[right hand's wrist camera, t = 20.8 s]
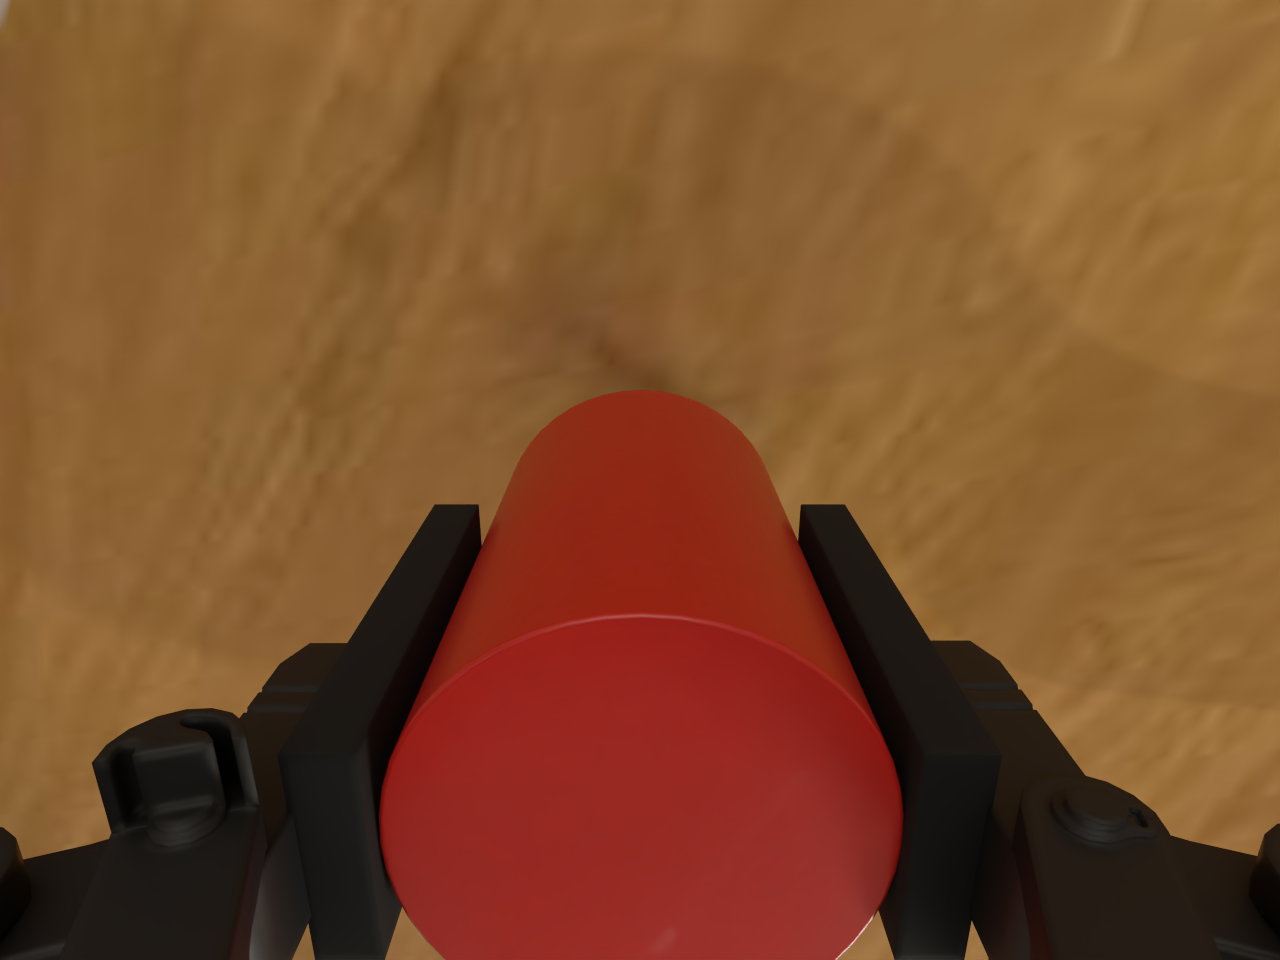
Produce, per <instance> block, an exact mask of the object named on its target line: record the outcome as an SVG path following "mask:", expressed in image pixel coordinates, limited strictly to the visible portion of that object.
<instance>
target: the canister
mask: <svg viewBox="0 0 1280 960" xmlns="http://www.w3.org/2000/svg"><path fill="white" fill-rule="evenodd" d="M903 821H904V811H903V802H902V792H901V786H900V782H899V779H898V775H897V771H896V768H895V764H894V761H893V758H892V756H891V754H890V751H889V749H888V747H887V745H886V742H885V740H884V738H883V735H882V733H881V731H880V728H879V726H878V724H877V722H876V719H875V717H874V715H873V712H872V710H871V708H870V706H869V703H868V701H867V699H866V696H865V694H864V692H863V690H862V687H861V685H860V683H859V680H858V678H857V676H856V674H855V671H854V669H853V667H852V664H851V662H850V660H849V658H848V655H847V653H846V651H845V648H844V646H843V644H842V642H841V639H840V637H839V635H838V632H837V630H836V628H835V626H834V623H833V621H832V619H831V616H830V614H829V612H828V609H827V607H826V605H825V603H824V600H823V598H822V596H821V593H820V591H819V589H818V587H817V584H816V582H815V580H814V577H813V575H812V573H811V571H810V568H809V566H808V564H807V561H806V559H805V557H804V555H803V552H802V550H801V548H800V545H799V543H798V541H797V539H796V536H795V534H794V532H793V529H792V527H791V525H790V523H789V520H788V518H787V516H786V513H785V511H784V509H783V507H782V504H781V502H780V500H779V497H778V495H777V493H776V490H775V488H774V486H773V484H772V481H771V479H770V477H769V474H768V472H767V470H766V468H765V466H764V464H763V461H762V459H761V457H760V456H759V454H758V453H757V451H756V450H755V448H754V447H753V445H752V444H751V442H750V441H749V440H748V439H747V438H746V437H745V436H744V434H743V433H742V432H741V431H740V430H739V429H738V428H737V427H736V426H734V425H733V424H732V423H731V422H730V421H729V420H728V419H726V418H725V417H723V416H722V415H720V414H719V413H717V412H716V411H714V410H713V409H711V408H709V407H707V406H705V405H703V404H701V403H699V402H697V401H694V400H691V399H688V398H685V397H682V396H679V395H675V394H670V393H665V392H660V391H646V390H636V391H622V392H617V393H611V394H606V395H602V396H599V397H596V398H593V399H590V400H587V401H585V402H583V403H581V404H579V405H577V406H575V407H572V408H570V409H569V410H567V411H566V412H564V413H563V414H561V415H560V416H558V417H557V418H555V419H554V420H553V421H552V422H551V423H549V424H548V425H547V426H546V427H545V428H544V429H542V430H541V432H540V433H539V434H538V435H537V436H536V437H535V438H534V440H533V441H532V442H531V443H530V444H529V446H528V448H527V449H526V451H525V452H524V454H523V455H522V457H521V458H520V461H519V463H518V465H517V467H516V469H515V471H514V473H513V476H512V478H511V480H510V483H509V485H508V487H507V489H506V492H505V494H504V496H503V499H502V501H501V503H500V506H499V508H498V510H497V513H496V515H495V517H494V519H493V522H492V524H491V526H490V529H489V531H488V533H487V536H486V538H485V540H484V543H483V545H482V547H481V549H480V552H479V554H478V556H477V559H476V561H475V563H474V566H473V568H472V570H471V573H470V575H469V577H468V579H467V582H466V584H465V586H464V589H463V591H462V593H461V596H460V598H459V600H458V603H457V605H456V607H455V609H454V612H453V614H452V616H451V619H450V621H449V623H448V626H447V628H446V630H445V633H444V635H443V637H442V639H441V642H440V644H439V646H438V649H437V651H436V653H435V656H434V658H433V660H432V663H431V665H430V667H429V669H428V672H427V674H426V676H425V679H424V681H423V683H422V686H421V688H420V690H419V693H418V695H417V697H416V699H415V702H414V704H413V706H412V709H411V711H410V713H409V716H408V718H407V720H406V723H405V725H404V727H403V729H402V732H401V734H400V736H399V739H398V741H397V743H396V746H395V748H394V750H393V753H392V755H391V757H390V760H389V763H388V767H387V770H386V774H385V777H384V780H383V784H382V789H381V798H380V806H379V830H380V844H381V849H382V853H383V858H384V862H385V867H386V871H387V874H388V876H389V879H390V881H391V884H392V886H393V889H394V891H395V894H396V896H397V898H398V900H399V902H400V903H401V905H402V907H403V908H404V910H405V912H406V914H407V915H408V917H409V919H410V920H411V922H412V923H413V924H414V925H415V927H416V928H417V929H418V931H419V932H420V933H421V934H422V936H423V937H424V938H425V940H426V941H427V942H428V943H429V944H430V945H431V946H432V947H433V948H434V949H435V950H436V951H437V952H438V953H439V954H440V955H441V956H442V957H443V958H444V959H445V960H837V959H838V958H839V957H840V956H841V955H842V954H843V953H844V952H845V951H846V950H847V949H848V948H849V947H850V946H851V945H853V944H854V943H855V941H856V940H857V939H858V938H859V936H860V935H861V934H862V933H863V931H864V930H865V929H866V927H867V926H868V925H869V924H870V922H871V921H872V920H873V918H874V916H875V914H876V913H877V911H878V909H879V908H880V906H881V904H882V902H883V901H884V899H885V897H886V895H887V893H888V890H889V888H890V885H891V883H892V880H893V878H894V875H895V873H896V869H897V864H898V860H899V856H900V851H901V844H902V835H903Z"/></svg>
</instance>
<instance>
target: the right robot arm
mask: <svg viewBox="0 0 1280 960" xmlns="http://www.w3.org/2000/svg"><path fill="white" fill-rule="evenodd" d="M798 543H799V545H800V548H801V550H802V552H803V555H804V557H805V559H806V561H807V564H808V566H809V568H810V571H811V573H812V575H813V577H814V580H815V582H816V584H817V587H818V589H819V591H820V593H821V596H822V598H823V600H824V603H825V605H826V607H827V609H828V612H829V614H830V616H831V619H832V621H833V623H834V626H835V628H836V630H837V632H838V635H839V637H840V639H841V642H842V644H843V646H844V648H845V651H846V653H847V655H848V658H849V660H850V662H851V664H852V667H853V669H854V671H855V674H856V676H857V678H858V680H859V683H860V685H861V687H862V690H863V692H864V694H865V696H866V699H867V701H868V703H869V706H870V708H871V710H872V712H873V715H874V717H875V719H876V722H877V724H878V726H879V728H880V731H881V733H882V735H883V738H884V740H885V742H886V745H887V747H888V749H889V751H890V754H891V756H892V758H893V761H894V764H895V768H896V771H897V775H898V779H899V782H900V786H901V792H902V802H903V811H904V821H903V835H902V844H901V851H900V856H899V860H898V864H897V869H896V873H895V875H894V878H893V880H892V883H891V885H890V888H889V890H888V893H887V895H886V897H885V899H884V901H883V902H882V904H881V906H880V908H879V909H878V910H879V913H880V916H881V919H882V922H883V925H884V928H885V931H886V935H887V938H888V941H889V944H890V947H891V950H892V953H893V956H894V959H895V960H964V958H965V953H966V947H967V942H968V937H969V931H970V926H971V920H972V922H973V924H974V926H975V928H976V931H977V933H978V935H979V937H980V940H981V942H982V944H983V946H984V949H985V951H986V953H987V955H988V957H989V959H988V960H1280V824H1277V825H1275V826H1274V827H1273V828H1272V829H1270V830H1269V831H1268V832H1267V833H1266V834H1265V835H1264V838H1263V841H1262V844H1261V847H1260V850H1259V853H1258V856H1254V855H1250V854H1245V853H1241V852H1236V851H1232V850H1227V849H1223V848H1218V847H1214V846H1210V845H1205V844H1201V843H1196V842H1192V841H1188V840H1185V839H1181V838H1178V837H1174V836H1171V835H1170V834H1169V832H1168V830H1167V829H1166V827H1165V826H1164V824H1163V823H1162V822H1161V820H1160V819H1159V817H1158V816H1157V814H1156V813H1155V812H1154V811H1153V810H1151V809H1150V808H1149V807H1148V806H1146V805H1145V804H1144V803H1143V802H1141V801H1140V800H1139V799H1138V798H1136V797H1135V796H1134V795H1132V794H1130V793H1128V792H1126V791H1124V790H1122V789H1120V788H1118V787H1116V786H1114V785H1112V784H1110V783H1108V782H1106V781H1102V780H1099V779H1095V778H1091V777H1088V776H1085V774H1084V773H1083V772H1082V770H1081V769H1080V768H1079V766H1078V765H1077V764H1076V762H1075V761H1074V760H1073V758H1072V757H1071V756H1070V754H1069V753H1068V752H1067V750H1066V749H1065V748H1064V746H1063V745H1062V744H1061V742H1060V741H1059V740H1058V738H1057V737H1056V736H1055V734H1054V733H1053V732H1052V730H1051V729H1050V728H1049V726H1048V725H1047V724H1046V722H1045V721H1044V720H1043V718H1042V717H1041V716H1040V714H1039V713H1038V712H1037V710H1033V708H1032V703H1031V702H1030V701H1029V699H1028V698H1027V697H1026V695H1025V694H1024V693H1023V691H1022V690H1018V685H1017V683H1016V682H1015V681H1014V679H1013V678H1012V677H1011V675H1010V674H1009V673H1008V671H1007V670H1006V669H1005V667H1004V666H1003V665H1002V663H1001V662H1000V661H999V660H997V659H996V658H995V657H993V656H992V655H990V654H989V653H987V652H986V651H984V650H983V649H981V648H980V647H978V646H977V645H975V644H974V643H972V642H971V641H930V639H929V638H928V636H927V635H926V633H925V631H924V630H923V628H922V627H921V625H920V623H919V622H918V620H917V619H916V617H915V615H914V614H913V612H912V611H911V609H910V608H909V606H908V604H907V603H906V601H905V600H904V598H903V596H902V595H901V593H900V592H899V590H898V588H897V587H896V585H895V584H894V582H893V581H892V579H891V577H890V576H889V574H888V573H887V571H886V569H885V568H884V566H883V565H882V563H881V561H880V560H879V558H878V557H877V555H876V554H875V552H874V550H873V549H872V547H871V546H870V544H869V542H868V541H867V539H866V538H865V536H864V534H863V533H862V531H861V530H860V528H859V527H858V525H857V523H856V522H855V520H854V519H853V517H852V515H851V514H850V512H849V511H848V509H847V507H846V506H845V505H801V511H800V524H799V538H798ZM481 547H482V545H481V532H480V518H479V505H434V507H433V508H432V510H431V511H430V513H429V515H428V516H427V518H426V519H425V521H424V522H423V524H422V526H421V527H420V529H419V530H418V532H417V534H416V535H415V537H414V538H413V540H412V542H411V543H410V545H409V546H408V548H407V549H406V551H405V553H404V554H403V556H402V557H401V559H400V561H399V562H398V564H397V565H396V567H395V569H394V570H393V572H392V573H391V575H390V576H389V578H388V580H387V581H386V583H385V584H384V586H383V588H382V589H381V591H380V592H379V594H378V596H377V597H376V599H375V600H374V602H373V603H372V605H371V607H370V608H369V610H368V611H367V613H366V615H365V616H364V618H363V619H362V621H361V623H360V624H359V626H358V627H357V629H356V630H355V632H354V634H353V635H352V637H351V638H350V640H349V642H348V643H310V644H308V645H307V646H305V647H304V648H302V649H301V650H299V651H298V652H297V653H295V654H294V655H292V656H291V657H289V658H288V659H286V660H285V661H283V662H282V663H280V665H279V666H278V667H277V669H276V670H275V671H274V673H273V674H272V675H271V677H270V678H269V679H268V681H267V682H266V683H265V685H264V686H263V687H262V692H259V693H258V694H257V696H256V697H255V698H254V700H253V701H252V702H251V704H250V705H249V706H248V710H247V713H243V714H242V716H241V717H240V718H238V717H237V716H236V715H234V714H233V713H231V712H227V711H222V710H218V709H213V708H205V709H186V710H182V711H178V712H174V713H170V714H166V715H162V716H158V717H155V718H153V719H151V720H148V721H146V722H144V723H142V724H139V725H137V726H135V727H133V728H130V729H129V730H127V731H126V732H124V733H123V734H121V735H120V736H118V737H117V738H116V739H114V740H113V741H111V742H110V743H108V744H107V745H106V746H105V747H104V748H103V750H102V751H101V752H100V753H99V755H98V756H97V757H96V758H95V760H94V761H93V762H92V766H93V769H94V773H95V776H96V780H97V783H98V787H99V790H100V794H101V797H102V801H103V804H104V808H105V812H106V815H107V819H108V822H109V826H110V829H111V835H110V838H109V839H107V840H104V841H100V842H97V843H94V844H90V845H86V846H82V847H77V848H73V849H68V850H64V851H59V852H55V853H51V854H46V855H42V856H37V857H33V858H29V859H24V860H23V858H22V855H21V852H20V849H19V846H18V843H17V840H16V838H15V837H14V836H13V835H12V834H10V833H9V832H8V831H7V830H5V829H4V828H2V827H0V960H292V958H293V956H294V954H295V951H296V949H297V947H298V945H299V943H300V940H301V938H302V936H303V934H304V931H305V929H306V927H307V925H308V924H309V929H310V934H311V940H312V945H313V950H314V956H315V960H385V957H386V954H387V951H388V948H389V945H390V942H391V939H392V936H393V933H394V930H395V927H396V924H397V921H398V918H399V914H400V911H401V908H402V905H401V903H400V902H399V900H398V898H397V896H396V894H395V891H394V889H393V886H392V884H391V881H390V879H389V876H388V874H387V871H386V867H385V862H384V858H383V853H382V849H381V844H380V830H379V806H380V798H381V789H382V784H383V780H384V777H385V774H386V770H387V767H388V763H389V760H390V757H391V755H392V753H393V750H394V748H395V746H396V743H397V741H398V739H399V736H400V734H401V732H402V729H403V727H404V725H405V723H406V720H407V718H408V716H409V713H410V711H411V709H412V706H413V704H414V702H415V699H416V697H417V695H418V693H419V690H420V688H421V686H422V683H423V681H424V679H425V676H426V674H427V672H428V669H429V667H430V665H431V663H432V660H433V658H434V656H435V653H436V651H437V649H438V646H439V644H440V642H441V639H442V637H443V635H444V633H445V630H446V628H447V626H448V623H449V621H450V619H451V616H452V614H453V612H454V609H455V607H456V605H457V603H458V600H459V598H460V596H461V593H462V591H463V589H464V586H465V584H466V582H467V579H468V577H469V575H470V573H471V570H472V568H473V566H474V563H475V561H476V559H477V556H478V554H479V552H480V549H481Z"/></svg>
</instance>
